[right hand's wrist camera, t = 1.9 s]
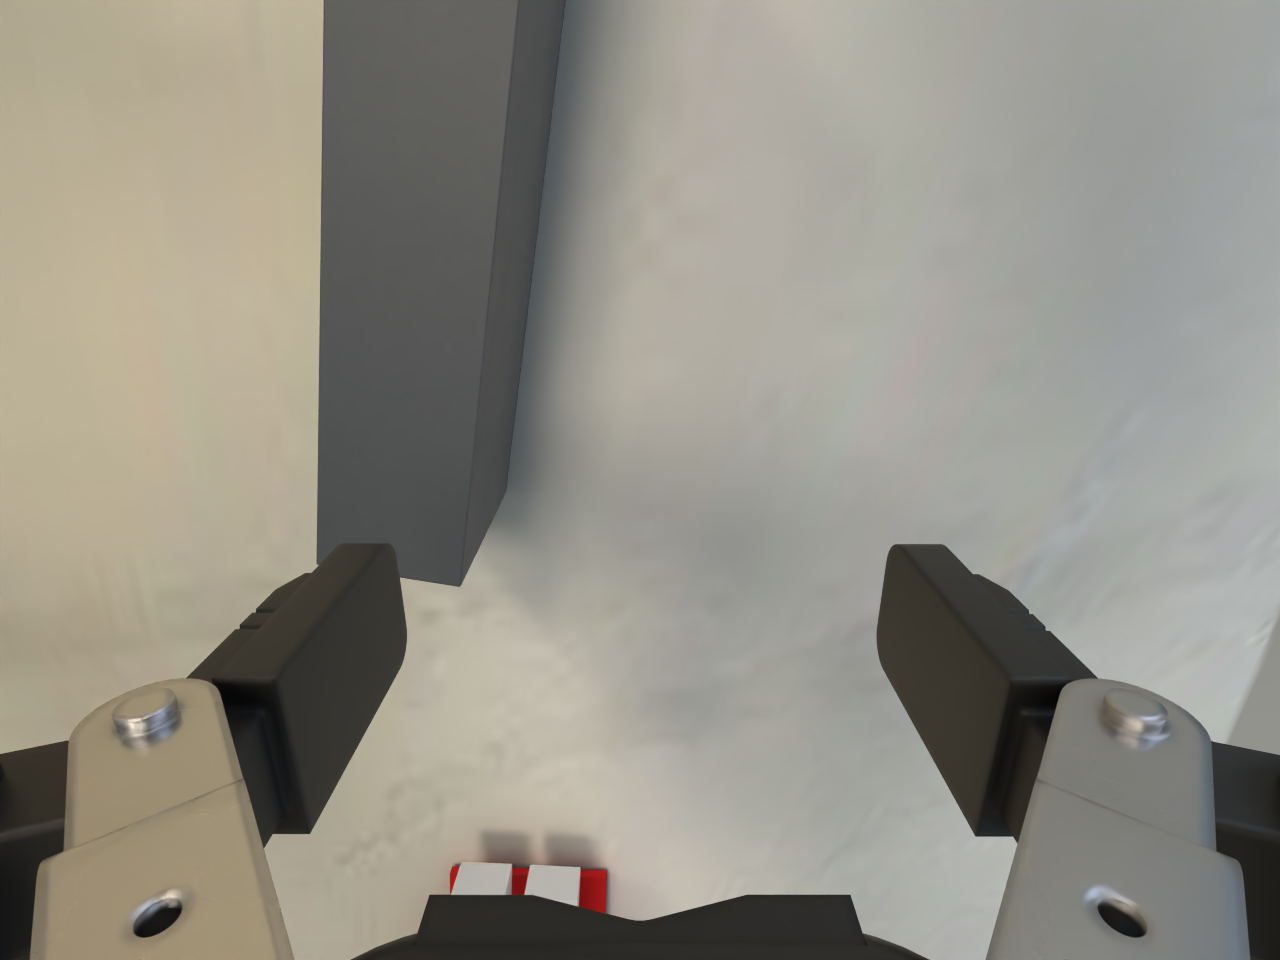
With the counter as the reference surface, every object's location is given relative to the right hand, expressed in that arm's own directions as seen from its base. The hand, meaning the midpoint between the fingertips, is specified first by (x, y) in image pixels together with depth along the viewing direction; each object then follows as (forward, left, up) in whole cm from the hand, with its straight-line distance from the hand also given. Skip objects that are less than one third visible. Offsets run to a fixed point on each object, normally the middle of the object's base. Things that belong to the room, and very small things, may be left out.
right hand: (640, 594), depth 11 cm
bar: (-9, +1, -20) cm, 22 cm away
